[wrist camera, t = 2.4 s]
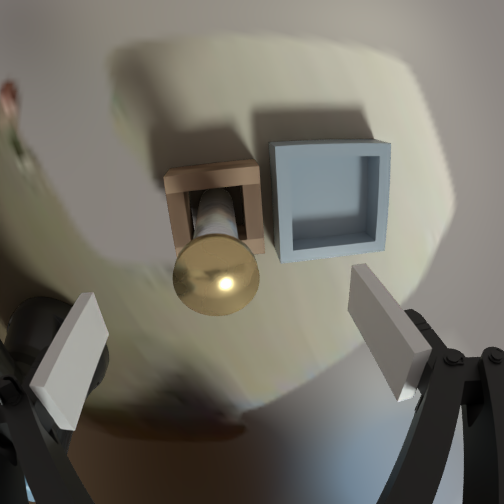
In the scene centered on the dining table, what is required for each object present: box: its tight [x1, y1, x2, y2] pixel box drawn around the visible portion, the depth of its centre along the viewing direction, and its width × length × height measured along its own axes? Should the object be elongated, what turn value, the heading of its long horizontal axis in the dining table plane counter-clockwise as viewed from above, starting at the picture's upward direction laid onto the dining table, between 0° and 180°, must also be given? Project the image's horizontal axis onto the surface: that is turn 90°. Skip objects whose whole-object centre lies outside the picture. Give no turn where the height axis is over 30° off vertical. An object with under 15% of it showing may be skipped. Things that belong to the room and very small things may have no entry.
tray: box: [269, 139, 391, 263], centre depth 30 cm, size 11×11×4 cm
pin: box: [173, 188, 259, 316], centre depth 24 cm, size 5×5×15 cm
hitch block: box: [163, 159, 265, 257], centre depth 29 cm, size 8×8×4 cm
